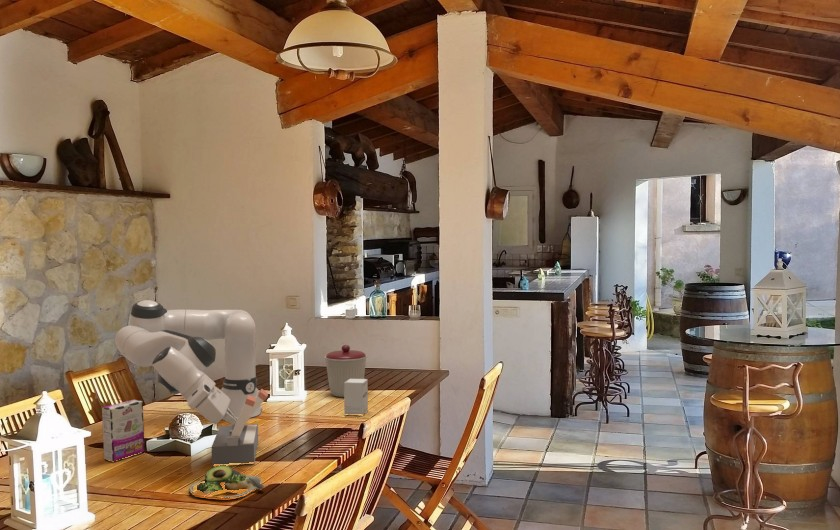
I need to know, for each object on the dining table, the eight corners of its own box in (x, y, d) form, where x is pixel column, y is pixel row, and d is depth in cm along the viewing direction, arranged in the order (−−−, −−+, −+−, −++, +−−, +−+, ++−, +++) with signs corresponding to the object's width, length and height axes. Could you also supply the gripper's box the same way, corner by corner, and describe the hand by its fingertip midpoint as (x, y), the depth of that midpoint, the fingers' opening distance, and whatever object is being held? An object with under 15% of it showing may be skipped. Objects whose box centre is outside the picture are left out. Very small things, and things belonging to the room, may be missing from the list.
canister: (362, 388, 302) (361, 340, 301) (372, 397, 285) (372, 347, 284) (321, 391, 296) (320, 343, 295) (329, 401, 279) (328, 349, 278)
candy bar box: (135, 450, 217) (133, 398, 217) (145, 453, 215) (144, 400, 214) (102, 460, 208) (101, 406, 207) (112, 463, 205) (111, 408, 204)
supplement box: (363, 416, 255) (362, 382, 255) (343, 415, 257) (343, 382, 256) (368, 411, 263) (368, 378, 262) (349, 410, 264) (349, 378, 264)
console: (211, 467, 201) (211, 438, 200) (220, 444, 223) (219, 418, 223) (254, 464, 203) (253, 436, 202) (258, 442, 225) (257, 416, 225)
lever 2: (227, 442, 202) (246, 398, 203) (229, 437, 207) (248, 394, 208) (236, 445, 203) (255, 401, 203) (237, 440, 208) (256, 397, 208)
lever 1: (232, 426, 217) (260, 392, 218) (233, 422, 222) (261, 388, 223) (239, 431, 218) (267, 396, 219) (240, 427, 223) (268, 393, 224)
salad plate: (281, 483, 188) (281, 466, 188) (241, 507, 172) (241, 489, 172) (223, 474, 196) (223, 458, 195) (179, 497, 179) (179, 480, 179)
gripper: (198, 390, 213) (231, 420, 215) (187, 407, 193) (223, 440, 195) (213, 376, 213) (245, 406, 215) (203, 391, 193) (239, 424, 195)
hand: (235, 422), depth 205 cm, fingers closed, pressing on lever 2
